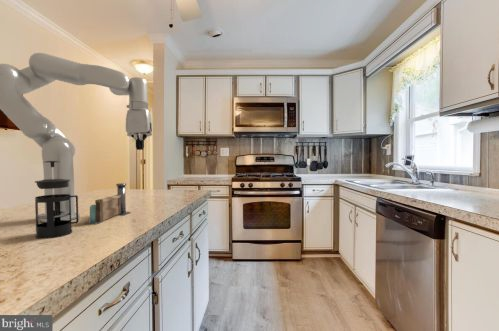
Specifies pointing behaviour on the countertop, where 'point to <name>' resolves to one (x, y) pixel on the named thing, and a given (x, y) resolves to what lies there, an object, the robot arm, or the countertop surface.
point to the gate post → (122, 197)
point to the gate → (108, 207)
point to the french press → (54, 209)
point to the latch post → (92, 215)
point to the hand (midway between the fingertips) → (140, 149)
